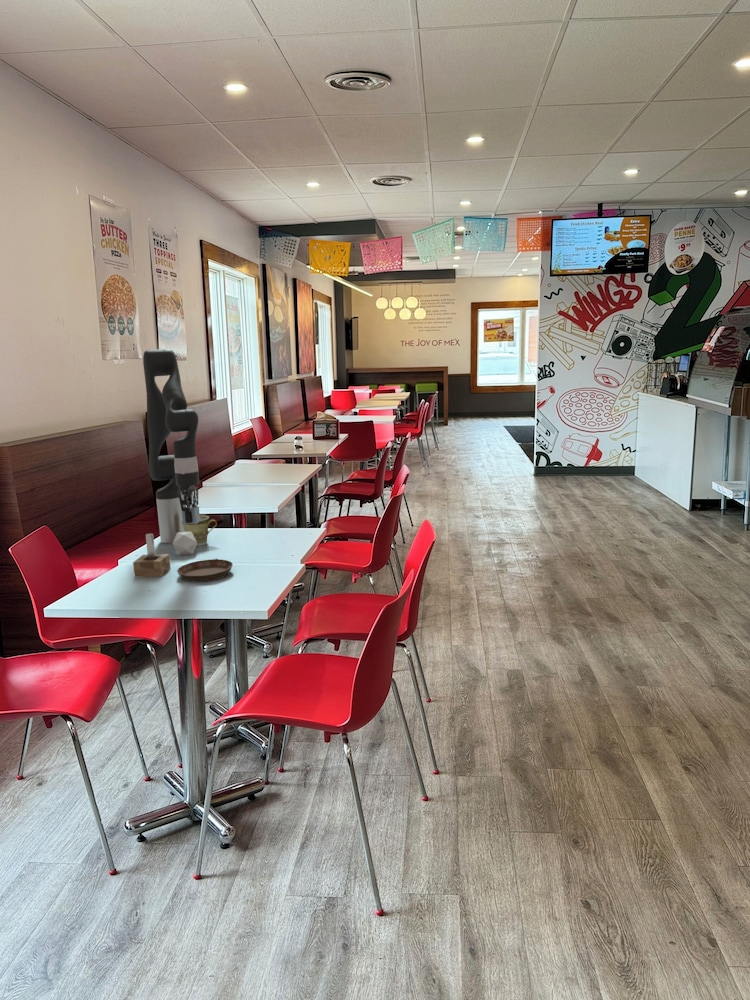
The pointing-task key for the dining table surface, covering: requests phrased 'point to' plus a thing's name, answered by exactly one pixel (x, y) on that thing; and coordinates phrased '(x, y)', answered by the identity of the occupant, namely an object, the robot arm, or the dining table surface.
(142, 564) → the bore block
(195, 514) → the slate block
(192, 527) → the ceramic cup
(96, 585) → the dining table surface
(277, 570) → the dining table surface
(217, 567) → the plant saucer
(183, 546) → the die
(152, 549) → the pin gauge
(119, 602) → the dining table surface
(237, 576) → the dining table surface
